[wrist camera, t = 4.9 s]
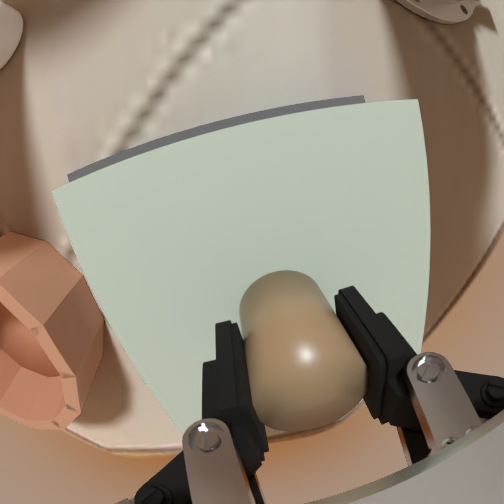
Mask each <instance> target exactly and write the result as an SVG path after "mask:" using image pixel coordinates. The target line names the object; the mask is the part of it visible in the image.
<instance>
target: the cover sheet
mask: <svg viewBox="0 0 504 504" xmlns="http://www.w3.org/2000/svg"><path fill="white" fill-rule="evenodd" d="M52 194H53V197H54V200H55V203H56V205H57V208H58V211H59V214H60V217H61V219H62V222H63V225H64V227H65V230H66V232H67V235H68V237H69V240H70V242H71V245H72V247H73V250H74V252H75V254H76V257H77V259H78V261H79V264H80V266H81V268H82V270H83V272H84V275H85V277H86V279H87V281H88V283H89V285H90V287H91V289H92V291H93V293H94V295H95V297H96V299H97V301H98V303H99V305H100V307H101V309H102V311H103V313H104V315H105V317H106V319H107V321H108V322H109V324H110V326H111V328H112V330H113V331H114V333H115V335H116V337H117V338H118V340H119V342H120V344H121V345H122V347H123V349H124V350H125V352H126V354H127V355H128V357H129V359H130V360H131V362H132V364H133V365H134V367H135V368H136V370H137V371H138V373H139V375H140V376H141V378H142V379H143V381H144V382H145V384H146V385H147V387H148V388H149V390H150V391H151V393H152V394H153V396H154V397H155V398H156V400H157V401H158V403H159V404H160V405H161V407H162V408H163V410H164V411H165V412H166V414H167V415H168V416H169V418H170V419H171V420H172V422H173V423H174V424H175V426H176V427H177V428H178V430H179V431H180V432H181V433H182V434H184V433H185V431H186V430H187V428H188V427H189V426H190V425H192V424H193V423H194V422H196V421H199V420H201V419H202V366H203V363H204V362H207V361H212V360H216V345H215V324H216V323H219V322H224V321H228V320H231V323H236V322H237V324H238V327H239V329H240V332H241V335H242V338H243V342H244V349H245V356H246V363H247V370H248V377H249V383H250V390H251V397H252V403H253V406H254V408H255V411H256V413H257V416H258V418H259V420H260V422H262V423H263V424H265V425H266V426H268V427H271V428H273V429H277V430H282V431H304V430H310V429H314V428H318V427H321V426H324V425H327V424H329V423H331V422H333V421H335V420H337V419H339V418H341V417H342V416H344V415H345V414H347V413H348V412H349V411H351V410H352V409H353V408H354V407H355V406H356V405H357V404H358V403H359V402H360V401H361V399H362V398H363V397H364V395H365V393H366V391H367V389H368V368H367V366H366V364H365V362H364V361H363V359H362V357H361V355H360V354H359V352H358V350H357V349H356V347H355V345H354V344H353V342H352V340H351V339H350V337H349V335H348V333H347V332H346V330H345V328H344V327H343V325H342V324H341V322H340V320H339V319H338V317H337V315H336V309H335V300H334V295H336V294H338V290H339V289H343V288H346V287H349V286H354V287H355V288H356V289H357V290H358V292H359V293H360V294H361V295H362V297H363V298H364V299H365V300H366V302H367V303H368V304H369V305H370V307H371V308H372V309H373V310H374V312H375V313H379V312H383V313H384V314H385V315H386V316H387V317H388V318H389V320H390V321H391V322H392V323H393V324H394V326H395V327H396V328H397V329H398V331H399V332H400V333H401V334H402V336H403V337H404V338H405V339H406V341H407V342H408V343H409V344H410V346H411V347H412V348H413V350H414V351H415V352H416V353H417V355H418V354H421V347H422V341H423V334H424V326H425V318H426V309H427V299H428V286H429V270H430V196H429V180H428V168H427V157H426V148H425V140H424V133H423V126H422V120H421V114H420V108H419V102H418V99H409V100H393V101H381V102H370V103H361V104H352V105H344V106H336V107H329V108H323V109H316V110H310V111H304V112H298V113H293V114H288V115H282V116H277V117H272V118H268V119H263V120H258V121H254V122H249V123H245V124H241V125H237V126H233V127H229V128H225V129H221V130H217V131H214V132H210V133H206V134H203V135H199V136H196V137H192V138H189V139H185V140H182V141H179V142H176V143H172V144H169V145H166V146H163V147H160V148H157V149H154V150H151V151H148V152H145V153H143V154H140V155H137V156H134V157H131V158H129V159H126V160H123V161H121V162H118V163H115V164H113V165H110V166H108V167H105V168H103V169H100V170H98V171H95V172H93V173H90V174H88V175H86V176H83V177H81V178H79V179H76V180H74V181H72V182H70V183H68V184H65V185H63V186H61V187H59V188H57V189H55V190H52Z"/></svg>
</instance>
